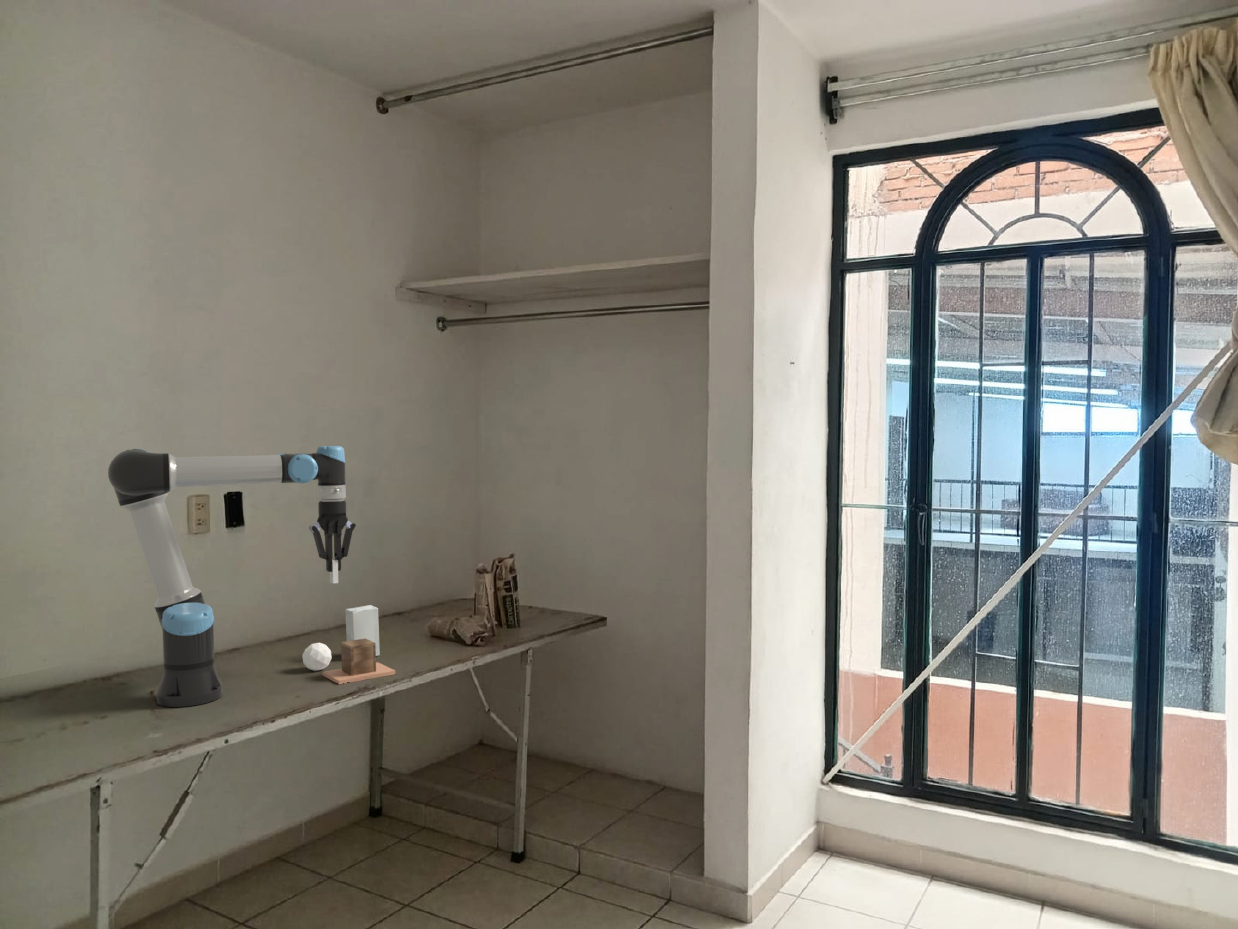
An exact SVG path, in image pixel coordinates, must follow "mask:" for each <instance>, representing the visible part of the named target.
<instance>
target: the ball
mask: <svg viewBox="0 0 1238 929" xmlns="http://www.w3.org/2000/svg"><path fill="white" fill-rule="evenodd" d="M301 655H302V657H301V658H302V663H303V665H304V666H305V667H306V668H307V669H308V670H311V671H314V672H317V671H323V669H325V668H327V667H328V666H329V664H330V663H331V660H332V651H331V649H330V648H329V647H328V646H327V644H325V643H322V642H314V643H311V644H310V645H308V646H307V647H306V648H305V649H304V651H303V653H302V654H301Z"/></svg>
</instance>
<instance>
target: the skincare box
mask: <svg viewBox="0 0 1238 929" xmlns="http://www.w3.org/2000/svg"><path fill="white" fill-rule="evenodd" d="M344 612H345V630H346V632H345V633H346V641H352V640H358V639H365V638H366V639H368V640H370V641H373V642H375V645H376V657H379V656H380V655H381V654H380V653H381V652H380V631H379V630H380V628H379V626H380V625H379V608H378V607H376V606H374V605H372V604H369V605H368V604H367V605H363V606H356V607H350V608H345V610H344Z"/></svg>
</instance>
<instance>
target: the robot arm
mask: <svg viewBox="0 0 1238 929" xmlns="http://www.w3.org/2000/svg"><path fill="white" fill-rule="evenodd" d="M345 455H346V454H345V449H344V448H343V446H341V445H325V446H323V445H322V446H318V447H317V449H316V452H314V453H277V454H267V455H266V454H261V455H258V454H257V455H253V454H252V455H223V456H222V455H216V456H214V455H213V456H212V455H211V456H183V457H182V456H174V455H172V454H171V453H168V452H167V453H166V452H165V453H163V452H161V453H157V452H149V451H147V450H144V449H140V448H133V449H126V450H124V451H121V452H119V453H118V454H116V456H115V457H114V458H113V459H112V460H111V462H110V463H109V465H108V469H107V478H108V481H109V483H110V485H111V486H112V487H113V489H114V493H115V495H116V499H117V501H118V504H119V507H120V508H122V509H123V510H126V511H128V513H129V515H130V519H131V522H132V524H133V525H132V526H133V528H134V530H135V534H136V537H137V539H138V542H139V545H140V548H141V551H142V553H143V554H142V555H143V557H144V560H145V562H146V566H147V570H148V572H149V574H150V577H151V580H152V584H153V587H154V589H155V592H156V595H157V599H156V601H155V603H154V604H153V607H154V609H155V613H156V616H157V618H158V621H159V625H160V627H161V630H162V648H163V649H162V652H163V674H162V676H161V679H160V682H159V685H158V689H157V692H156V704H157V705H158V706H161V707H169V708H184V707H192V706H199V705H204V704H207V703H210V702H214V701H217V700H218V699H220V698H221V697H223V695H224V693H223V692H224V691H223V689H224V687H223V683H222V681H221V679H220V676H219V674H218V671H217V669H216V665H215V639H214V638H215V637H214V636H215V633H214V632H215V631H214V630H215V629H214V628H215V627H214V621H215V614H214V610H213V608H212V607H211V606H210V605H209V604H208V603H207V604H206V602H205V599H204V596H203V594H202V591H201V589H200V588H197V587H194V586H193V584H192V580H191V577H190V574H189V571H188V568H187V565H186V562H185V559H184V557H183V553H182V550H181V547H180V544H179V541H178V538H177V535H176V533H175V529H174V526H173V523H172V520H171V518H170V514H169V511H168V509H167V505H166V502H165V501H166V499H167V497H168V495H169V492H172V491H174V489H176V488H185V487H186V488H191V487H214V486H215V487H216V486H236V485H237V486H239V485H240V486H241V485H242V486H243V485H261V484H262V485H264V484H266V485H267V484H269V485H270V484H307V483H310V482H312V481H315V480H317V487H318V488H317V498H318V500H319V501H318V505H317V506H318V517H317V519H316V523H314V524H313V525H309V528H308V529H309V530H310V532H311V533H312V535H313V538H314V543H315V546H316V551H317V553H318V557H319V558H320V559H323V560H325V566H326V567H325V569H326V572H328V573H329V583H330V584H339V571H340V572H341V570H342V560H343V559H344V558H347V557H348V555H349V550H350V545H351V540H352V536H353V531H355V528H356V525H357V524H356V523H354V522H351V521H349V520H348V519H349V518H348V516H347V501H346V500H345V499H346V498H347V495H346V494H347V493H346V492H347V491H346V457H345ZM343 529H345V530H344V534H343V535H344V536H343V538H342V533H343V532H342V531H343ZM320 530H322V531H323V533H324V534H323V535H324V542H323V539H322V535H321V532H320ZM342 539H343V540H342ZM333 557H334V558H333Z"/></svg>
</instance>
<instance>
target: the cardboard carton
mask: <svg viewBox="0 0 1238 929" xmlns="http://www.w3.org/2000/svg"><path fill="white" fill-rule="evenodd" d="M340 643H341V644H340V645H341V647H340V648H341V649H340V650H341V651H340V653H341V656H340V657H341V669H342V671H343V672H345V673H347V674H349V675H351V676H354V675H359V674H365V673H370V672H376V662H377V658H376V657H377V656H376V645H375V642H373V641H370V640H368V639H366V638H365V639H358V640H352V641H347V640H346V641H341V642H340Z"/></svg>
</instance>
